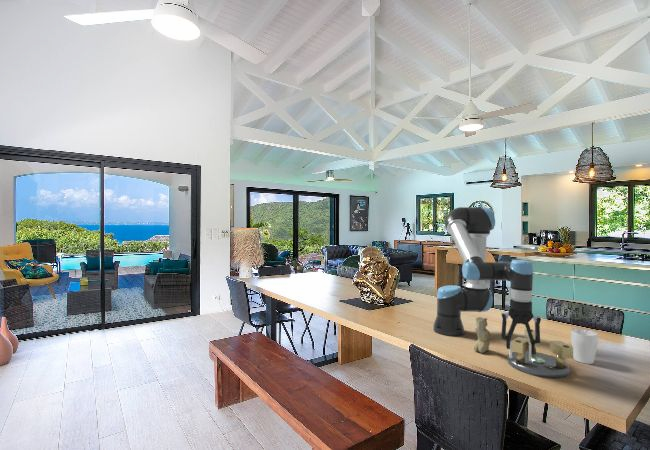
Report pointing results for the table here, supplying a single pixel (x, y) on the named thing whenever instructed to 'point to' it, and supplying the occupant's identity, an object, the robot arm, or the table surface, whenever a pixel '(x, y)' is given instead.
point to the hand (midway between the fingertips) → (519, 358)
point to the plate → (539, 365)
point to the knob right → (561, 352)
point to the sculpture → (482, 335)
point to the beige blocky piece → (533, 338)
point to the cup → (584, 345)
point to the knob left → (520, 348)
